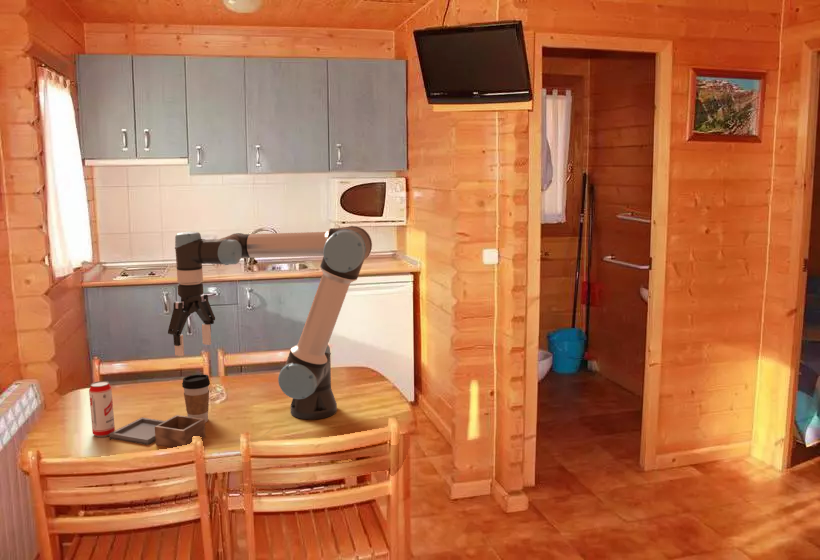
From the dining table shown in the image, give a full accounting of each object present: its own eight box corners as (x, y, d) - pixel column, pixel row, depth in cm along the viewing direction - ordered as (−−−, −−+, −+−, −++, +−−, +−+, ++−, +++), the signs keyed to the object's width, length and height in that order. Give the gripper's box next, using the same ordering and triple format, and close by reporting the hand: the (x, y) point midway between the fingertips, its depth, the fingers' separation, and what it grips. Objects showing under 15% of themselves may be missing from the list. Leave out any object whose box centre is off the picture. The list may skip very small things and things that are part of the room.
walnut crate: (205, 438, 218) (204, 419, 217) (184, 450, 209) (183, 431, 207) (178, 433, 221) (176, 414, 220) (155, 446, 212) (154, 426, 211)
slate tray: (178, 429, 225) (178, 423, 224) (147, 446, 212) (147, 439, 211) (142, 423, 230) (141, 417, 229) (109, 439, 217) (109, 433, 216)
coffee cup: (204, 428, 226) (201, 381, 223) (179, 426, 227) (176, 380, 225) (216, 418, 234) (214, 373, 231) (192, 416, 235) (189, 372, 233)
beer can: (118, 429, 224) (114, 380, 221) (110, 437, 218) (106, 386, 215) (97, 430, 224) (93, 380, 221) (89, 438, 218) (84, 387, 215)
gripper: (204, 275, 235) (207, 338, 239) (152, 289, 212) (157, 359, 216) (224, 276, 233) (227, 340, 236) (173, 290, 210) (177, 361, 213)
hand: (193, 349), depth 226 cm, fingers open, 13 cm apart
